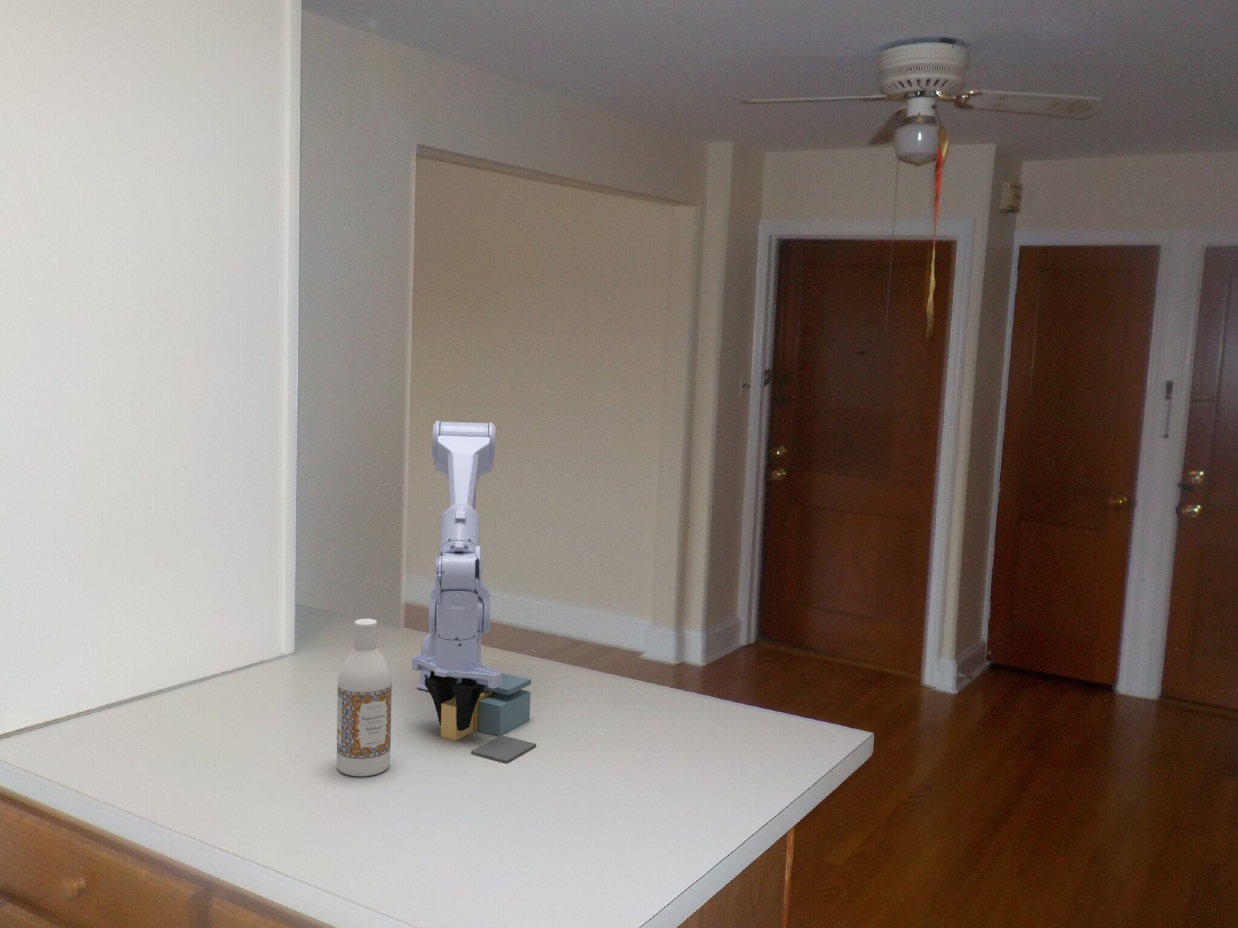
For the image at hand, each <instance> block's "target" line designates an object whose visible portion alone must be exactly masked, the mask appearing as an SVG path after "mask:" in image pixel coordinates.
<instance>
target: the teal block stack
mask: <svg viewBox="0 0 1238 928" xmlns="http://www.w3.org/2000/svg"><path fill="white" fill-rule="evenodd" d="M460 682H462V680H461V679H458V680H457V683H460ZM531 682H532V679H531V678H526V677H521V676H516V675H512V674H509V673H505V672H504V673H503V672H502V680H501V685H500V686H498V687H496V688H494V689H492V688H488V685H486V687H485V688H484V690H488V691H492V696H490V697H488V698H486V699H484V700H481V701H480V702H479V729H478V732H481V733H485V734H489V735H493V736H496V737H498V736H500V735H503V736H504V735H505V734H507V733H508V732H510V731H512V730H514V729H516V728H518V727H519V726H522V725H523V724H525V723H528V722H529V721H530V718H531V717H530V716H531V714H530V713H531V691H528V690H525V689H524V688H526V687H529V686H530V685H531ZM454 698H455V696H454Z"/></svg>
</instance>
